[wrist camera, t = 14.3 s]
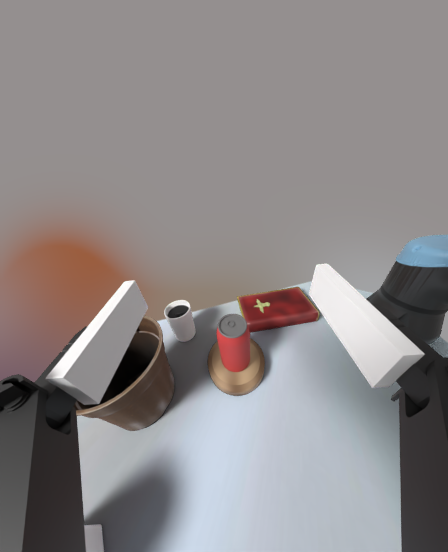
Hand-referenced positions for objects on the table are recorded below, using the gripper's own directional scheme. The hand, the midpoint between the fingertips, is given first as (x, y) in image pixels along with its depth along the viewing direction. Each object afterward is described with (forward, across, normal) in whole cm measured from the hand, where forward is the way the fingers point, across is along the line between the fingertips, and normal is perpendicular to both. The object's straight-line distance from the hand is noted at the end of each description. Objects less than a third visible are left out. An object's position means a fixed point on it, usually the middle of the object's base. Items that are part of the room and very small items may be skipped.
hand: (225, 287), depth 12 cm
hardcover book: (+26, +13, -33) cm, 44 cm away
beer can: (+11, 0, -30) cm, 31 cm away
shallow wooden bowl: (+11, 0, -32) cm, 34 cm away
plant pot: (+6, -20, -32) cm, 38 cm away
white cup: (+21, -14, -32) cm, 41 cm away
